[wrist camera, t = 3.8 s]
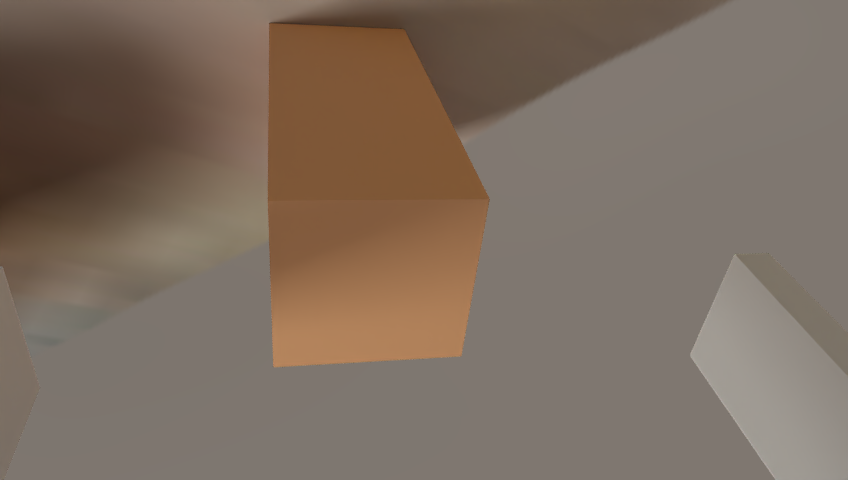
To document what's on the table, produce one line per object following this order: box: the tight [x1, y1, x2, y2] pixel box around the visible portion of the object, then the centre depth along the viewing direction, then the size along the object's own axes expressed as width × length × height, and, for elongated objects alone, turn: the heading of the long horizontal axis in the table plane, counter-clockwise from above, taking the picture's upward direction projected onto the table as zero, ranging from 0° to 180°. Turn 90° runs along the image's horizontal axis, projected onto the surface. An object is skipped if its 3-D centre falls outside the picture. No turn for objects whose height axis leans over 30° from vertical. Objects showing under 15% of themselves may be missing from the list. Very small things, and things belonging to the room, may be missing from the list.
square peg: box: [268, 23, 490, 367], centre depth 17 cm, size 4×4×10 cm
